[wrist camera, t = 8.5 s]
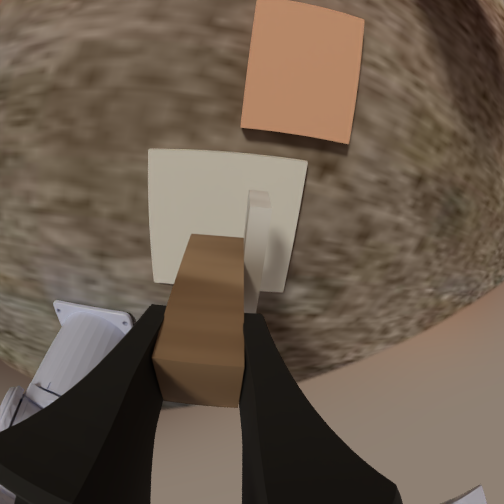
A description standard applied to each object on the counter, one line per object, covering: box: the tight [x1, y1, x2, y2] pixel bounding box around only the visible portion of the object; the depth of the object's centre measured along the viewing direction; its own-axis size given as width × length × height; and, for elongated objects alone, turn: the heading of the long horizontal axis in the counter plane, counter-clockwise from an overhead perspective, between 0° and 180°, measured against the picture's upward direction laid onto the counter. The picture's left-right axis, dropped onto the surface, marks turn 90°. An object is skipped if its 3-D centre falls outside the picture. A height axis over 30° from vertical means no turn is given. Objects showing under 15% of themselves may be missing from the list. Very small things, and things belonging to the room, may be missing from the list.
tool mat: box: [148, 149, 308, 292], centre depth 17 cm, size 9×9×1 cm
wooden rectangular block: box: [152, 190, 272, 408], centre depth 10 cm, size 7×3×7 cm, turn 174°
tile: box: [241, 0, 364, 144], centre depth 12 cm, size 8×1×6 cm
